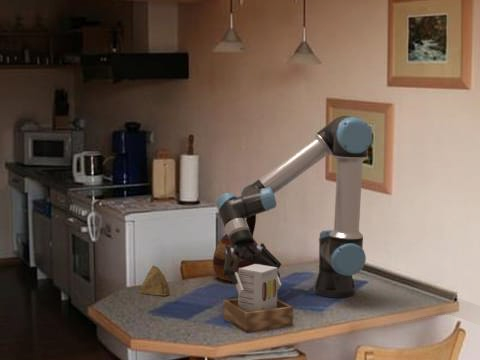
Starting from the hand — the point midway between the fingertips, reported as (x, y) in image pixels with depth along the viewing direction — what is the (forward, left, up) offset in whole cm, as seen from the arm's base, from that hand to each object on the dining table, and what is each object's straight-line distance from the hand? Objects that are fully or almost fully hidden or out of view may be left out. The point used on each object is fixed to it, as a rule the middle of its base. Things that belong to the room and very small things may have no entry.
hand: (260, 289), depth 258 cm
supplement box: (0, -2, -10) cm, 10 cm away
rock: (+18, -48, -11) cm, 52 cm away
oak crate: (0, -2, -11) cm, 11 cm away
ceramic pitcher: (-19, -56, -11) cm, 60 cm away
